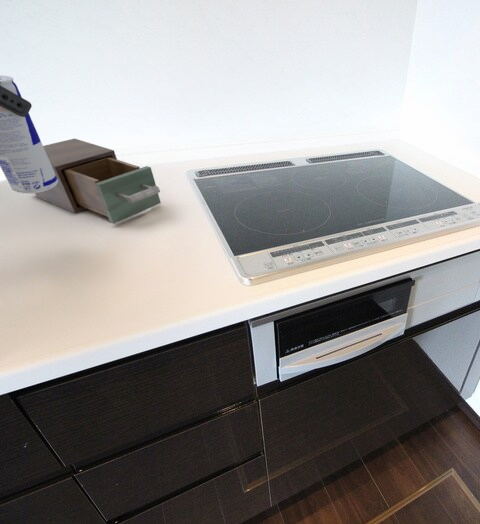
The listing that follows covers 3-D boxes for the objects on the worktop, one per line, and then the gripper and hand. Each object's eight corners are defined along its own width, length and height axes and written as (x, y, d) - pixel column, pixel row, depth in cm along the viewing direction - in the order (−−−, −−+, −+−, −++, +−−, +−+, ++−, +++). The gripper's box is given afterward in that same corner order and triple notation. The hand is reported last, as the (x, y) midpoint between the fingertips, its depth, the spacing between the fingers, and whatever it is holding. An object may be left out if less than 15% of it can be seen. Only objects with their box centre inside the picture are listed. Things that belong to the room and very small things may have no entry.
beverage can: (67, 186, 55) (21, 78, 47) (25, 199, 51) (-34, 83, 43) (47, 177, 58) (0, 72, 49) (5, 188, 54) (-54, 76, 45)
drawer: (175, 208, 74) (165, 171, 70) (128, 229, 67) (114, 190, 62) (122, 189, 80) (110, 154, 76) (73, 207, 73) (57, 169, 68)
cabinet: (128, 192, 81) (114, 150, 75) (75, 213, 72) (54, 166, 67) (90, 179, 86) (74, 138, 80) (36, 196, 77) (14, 152, 72)
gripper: (-146, -39, 32) (58, 91, 47) (-196, -42, 37) (2, 76, 52) (-192, 34, 31) (30, 141, 46) (-237, 21, 36) (-24, 121, 52)
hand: (14, 106), depth 49 cm, fingers closed on beverage can, 5 cm apart
